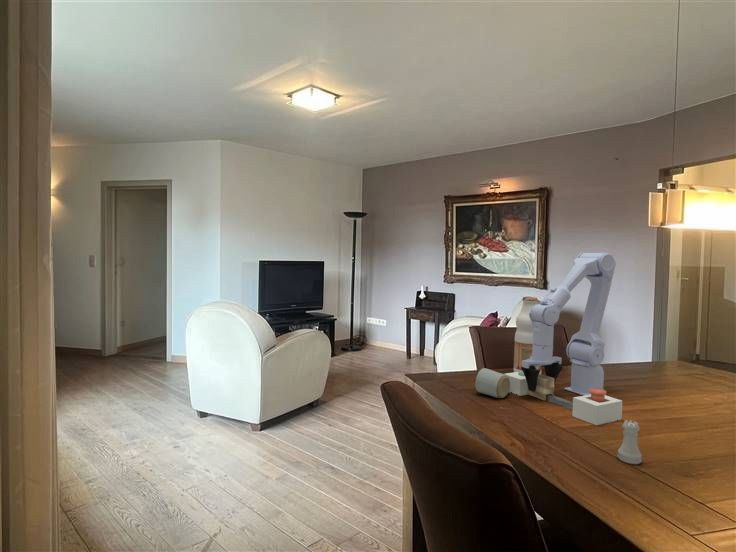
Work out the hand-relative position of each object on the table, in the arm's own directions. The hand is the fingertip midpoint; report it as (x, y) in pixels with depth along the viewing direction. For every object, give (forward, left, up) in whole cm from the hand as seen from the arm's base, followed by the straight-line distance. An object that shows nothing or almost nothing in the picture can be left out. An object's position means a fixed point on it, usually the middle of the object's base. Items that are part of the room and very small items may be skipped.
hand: (541, 389), depth 132 cm
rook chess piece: (+16, +38, -3) cm, 41 cm away
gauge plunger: (0, +19, +1) cm, 19 cm away
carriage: (0, 0, -2) cm, 2 cm away
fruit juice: (-16, -20, -3) cm, 26 cm away
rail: (0, +6, -2) cm, 6 cm away
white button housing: (0, +18, -2) cm, 19 cm away
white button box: (0, -7, -2) cm, 7 cm away
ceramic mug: (+11, -8, -3) cm, 14 cm away
